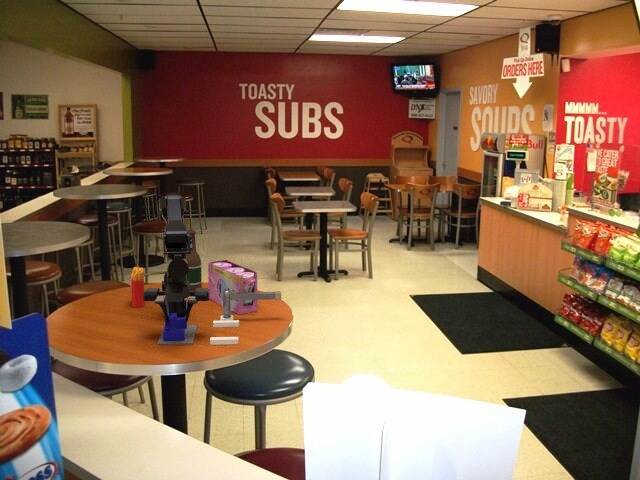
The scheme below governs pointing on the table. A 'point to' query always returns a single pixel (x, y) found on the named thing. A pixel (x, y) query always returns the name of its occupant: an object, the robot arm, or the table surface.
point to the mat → (189, 337)
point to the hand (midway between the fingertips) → (177, 322)
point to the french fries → (137, 287)
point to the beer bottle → (194, 265)
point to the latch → (245, 298)
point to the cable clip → (174, 328)
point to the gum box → (232, 284)
